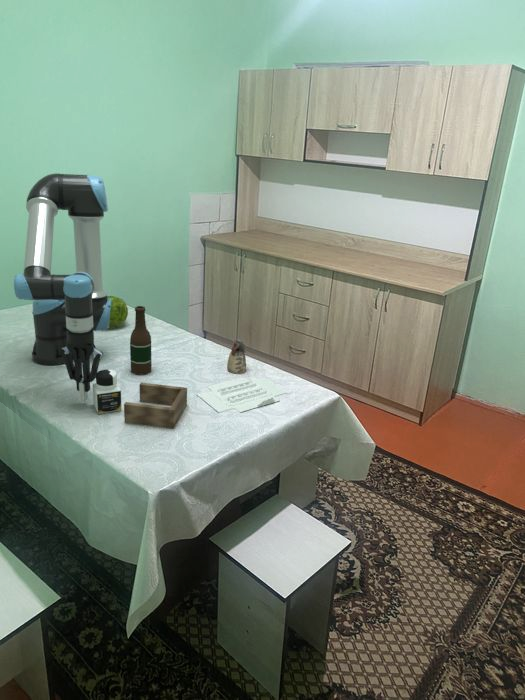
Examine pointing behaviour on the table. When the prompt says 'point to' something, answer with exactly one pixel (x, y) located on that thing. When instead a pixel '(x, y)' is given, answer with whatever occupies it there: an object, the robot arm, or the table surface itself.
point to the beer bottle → (140, 345)
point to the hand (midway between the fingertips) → (84, 400)
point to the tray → (242, 394)
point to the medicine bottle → (106, 392)
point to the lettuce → (117, 311)
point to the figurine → (237, 358)
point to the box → (157, 413)
